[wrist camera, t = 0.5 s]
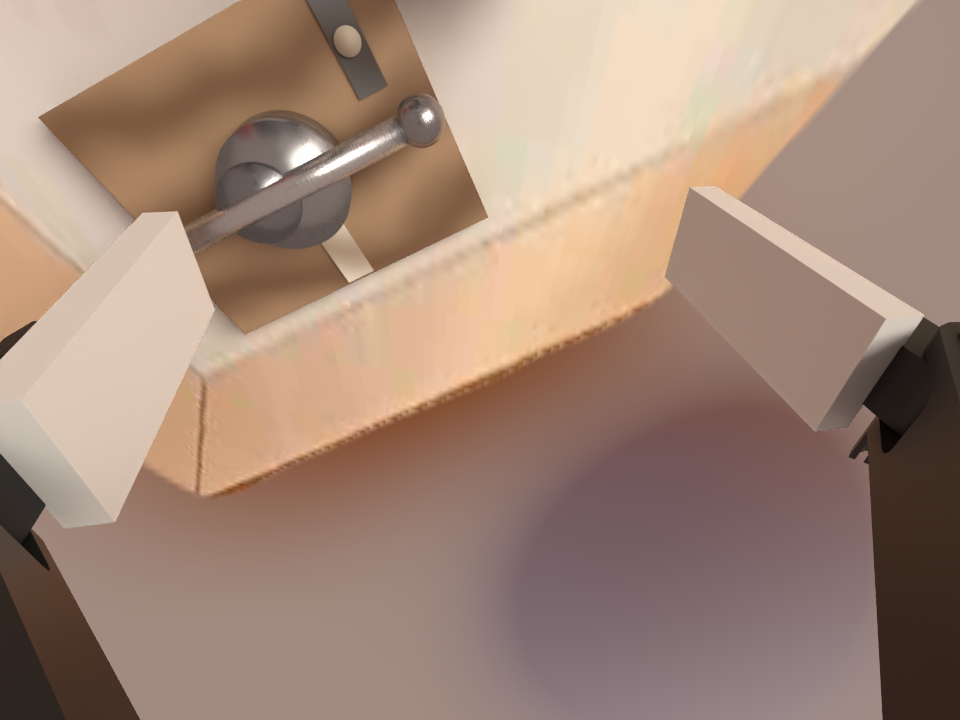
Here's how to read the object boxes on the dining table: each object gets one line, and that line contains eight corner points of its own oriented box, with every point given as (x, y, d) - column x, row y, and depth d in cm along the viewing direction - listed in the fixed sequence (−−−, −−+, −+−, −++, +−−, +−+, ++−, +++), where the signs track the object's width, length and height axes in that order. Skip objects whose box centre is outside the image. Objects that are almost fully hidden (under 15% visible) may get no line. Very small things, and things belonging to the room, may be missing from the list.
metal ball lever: (407, 31, 29) (412, 39, 26) (462, 157, 34) (472, 178, 31) (108, 194, 32) (73, 222, 28) (199, 289, 37) (179, 323, 33)
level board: (55, 110, 30) (34, 118, 29) (364, -68, 28) (363, -72, 26) (250, 320, 42) (244, 337, 40) (483, 207, 39) (489, 219, 37)
